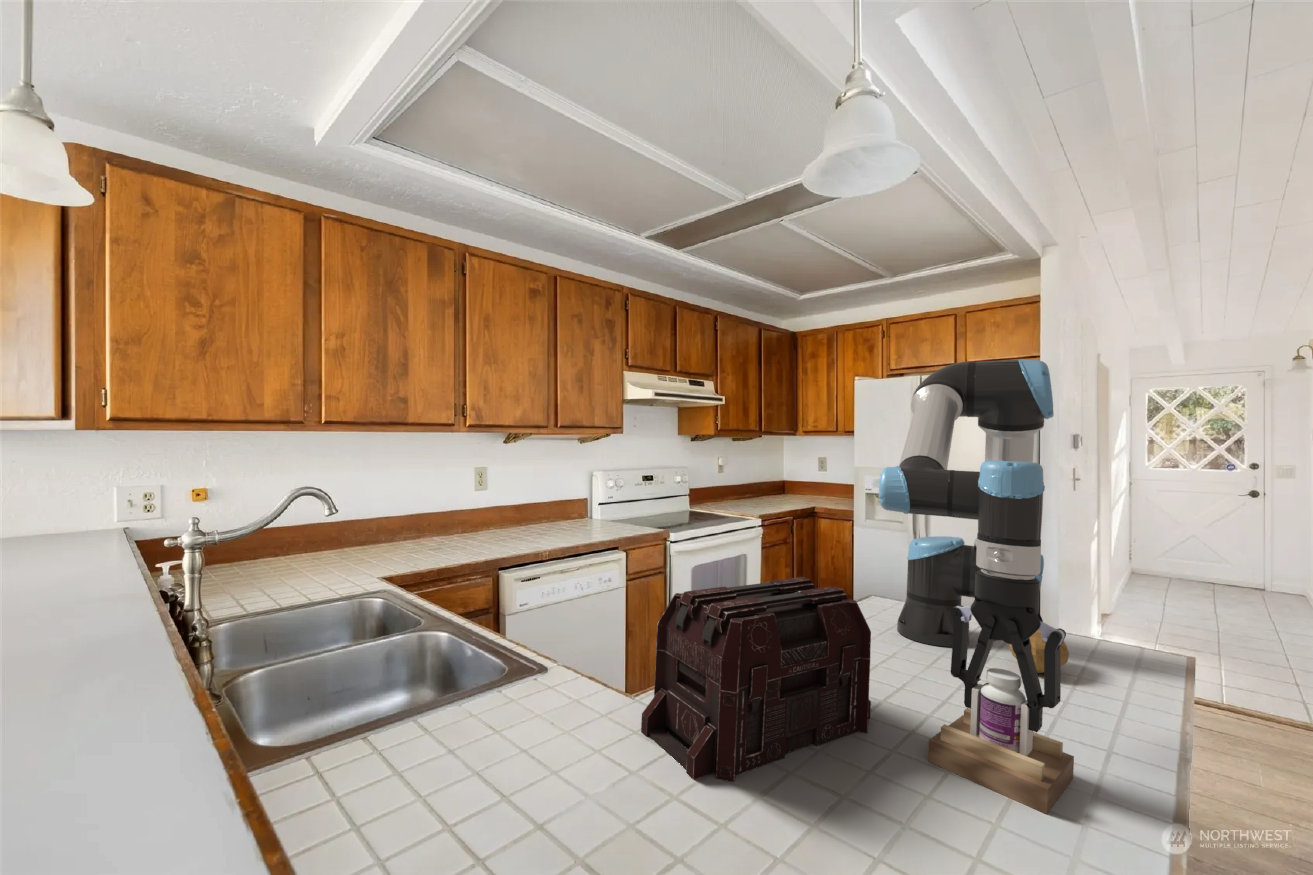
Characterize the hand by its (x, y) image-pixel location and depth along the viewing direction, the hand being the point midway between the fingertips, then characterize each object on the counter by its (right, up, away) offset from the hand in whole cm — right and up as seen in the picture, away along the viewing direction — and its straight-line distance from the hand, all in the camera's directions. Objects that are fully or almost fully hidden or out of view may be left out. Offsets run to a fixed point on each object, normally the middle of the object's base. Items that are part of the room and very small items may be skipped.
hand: (1000, 741), depth 77 cm
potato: (+30, -6, +37) cm, 48 cm away
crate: (-31, -3, +9) cm, 33 cm away
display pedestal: (0, -4, 0) cm, 4 cm away
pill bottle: (0, 0, 0) cm, 1 cm away
